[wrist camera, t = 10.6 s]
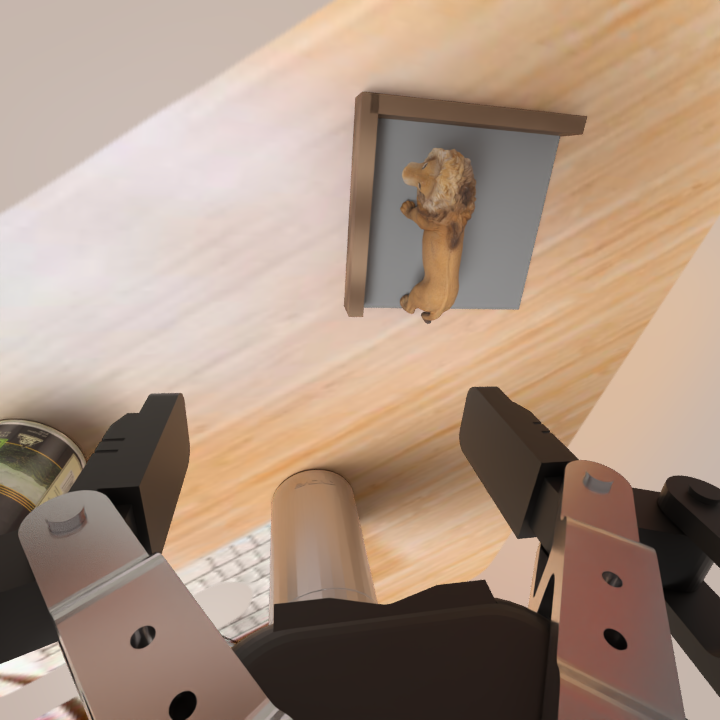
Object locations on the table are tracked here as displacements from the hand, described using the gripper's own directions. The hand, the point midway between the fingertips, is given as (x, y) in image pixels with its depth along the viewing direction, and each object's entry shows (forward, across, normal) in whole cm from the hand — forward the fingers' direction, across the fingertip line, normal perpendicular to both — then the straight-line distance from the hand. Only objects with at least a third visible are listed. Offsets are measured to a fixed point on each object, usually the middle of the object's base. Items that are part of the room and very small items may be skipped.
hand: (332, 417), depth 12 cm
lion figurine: (+26, -10, -1) cm, 28 cm away
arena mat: (+26, -13, -2) cm, 29 cm away
